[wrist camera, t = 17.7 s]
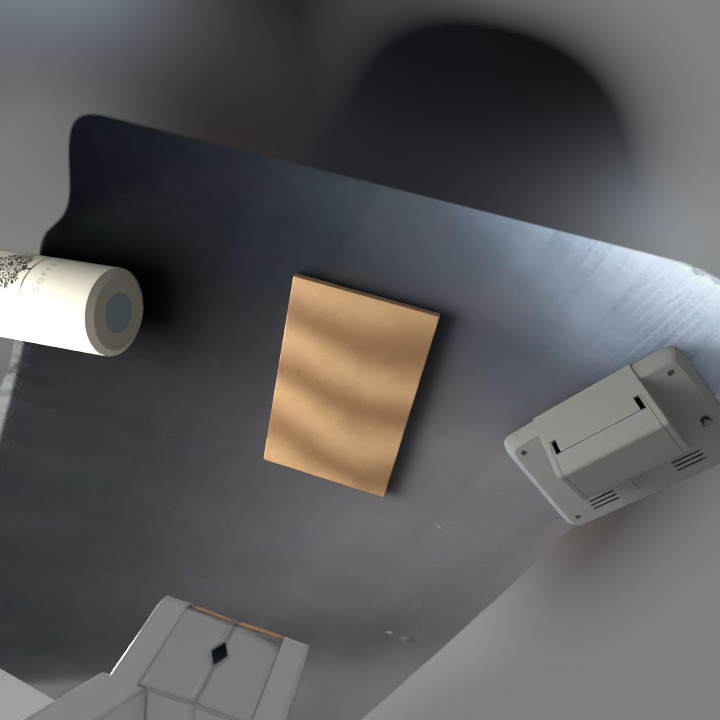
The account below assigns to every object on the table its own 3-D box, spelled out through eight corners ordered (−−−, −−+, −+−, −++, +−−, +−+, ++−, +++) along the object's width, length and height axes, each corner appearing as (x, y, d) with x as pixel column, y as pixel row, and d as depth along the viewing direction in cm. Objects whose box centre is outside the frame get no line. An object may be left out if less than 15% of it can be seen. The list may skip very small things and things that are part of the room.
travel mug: (125, 370, 47) (-40, 339, 49) (156, 297, 50) (-1, 272, 52) (74, 332, 39) (-116, 298, 42) (114, 249, 42) (-65, 223, 45)
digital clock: (489, 441, 45) (548, 491, 50) (536, 518, 38) (600, 568, 43) (641, 319, 41) (688, 387, 46) (728, 377, 34) (774, 451, 39)
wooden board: (296, 273, 44) (293, 275, 43) (440, 313, 43) (439, 316, 42) (266, 453, 53) (263, 459, 52) (385, 491, 51) (383, 497, 50)
